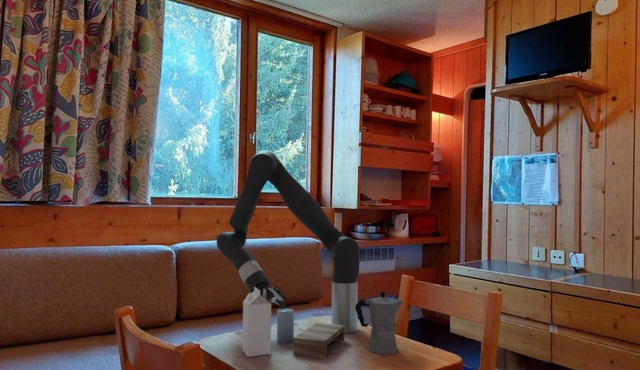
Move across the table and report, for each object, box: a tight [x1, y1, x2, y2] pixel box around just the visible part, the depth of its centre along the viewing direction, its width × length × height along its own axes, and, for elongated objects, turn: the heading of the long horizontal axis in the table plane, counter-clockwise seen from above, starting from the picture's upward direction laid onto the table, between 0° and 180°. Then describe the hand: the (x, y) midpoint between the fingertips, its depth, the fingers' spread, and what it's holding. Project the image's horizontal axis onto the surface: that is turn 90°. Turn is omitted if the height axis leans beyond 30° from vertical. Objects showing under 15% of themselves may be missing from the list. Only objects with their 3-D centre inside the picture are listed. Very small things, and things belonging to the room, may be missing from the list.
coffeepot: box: [355, 290, 404, 355], centre depth 142 cm, size 15×9×18 cm, turn 101°
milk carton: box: [242, 287, 272, 358], centre depth 139 cm, size 7×7×19 cm
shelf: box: [292, 322, 346, 360], centre depth 144 cm, size 19×10×5 cm, turn 159°
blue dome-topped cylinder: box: [276, 308, 295, 345], centre depth 150 cm, size 6×6×10 cm
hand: (278, 314), depth 152 cm, fingers open, 8 cm apart
